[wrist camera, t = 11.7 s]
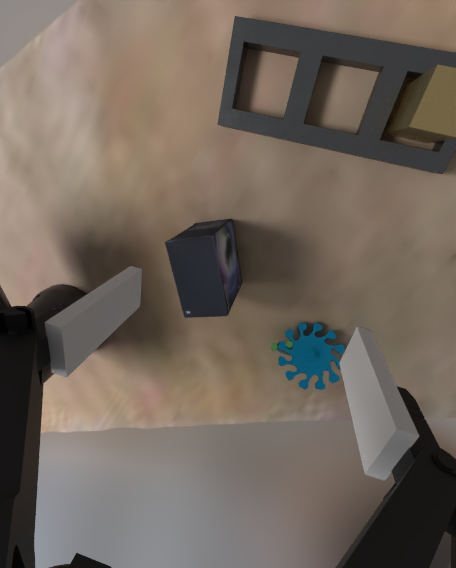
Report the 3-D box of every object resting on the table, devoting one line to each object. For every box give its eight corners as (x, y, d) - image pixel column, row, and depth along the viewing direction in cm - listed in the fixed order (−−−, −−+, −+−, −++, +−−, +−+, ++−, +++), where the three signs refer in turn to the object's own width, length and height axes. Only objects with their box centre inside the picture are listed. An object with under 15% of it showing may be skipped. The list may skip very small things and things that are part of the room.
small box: (245, 284, 43) (230, 318, 34) (206, 286, 45) (182, 319, 36) (234, 217, 39) (214, 235, 30) (192, 223, 41) (161, 241, 32)
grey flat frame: (221, 126, 35) (217, 124, 33) (238, 24, 30) (234, 16, 29) (434, 173, 32) (442, 174, 30) (489, 67, 27) (502, 60, 25)
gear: (353, 332, 41) (339, 401, 38) (345, 339, 46) (332, 400, 43) (280, 311, 44) (262, 373, 41) (281, 320, 49) (264, 375, 46)
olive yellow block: (384, 133, 31) (409, 126, 24) (404, 86, 29) (437, 64, 22) (425, 143, 31) (462, 138, 24) (448, 95, 29) (496, 75, 22)
